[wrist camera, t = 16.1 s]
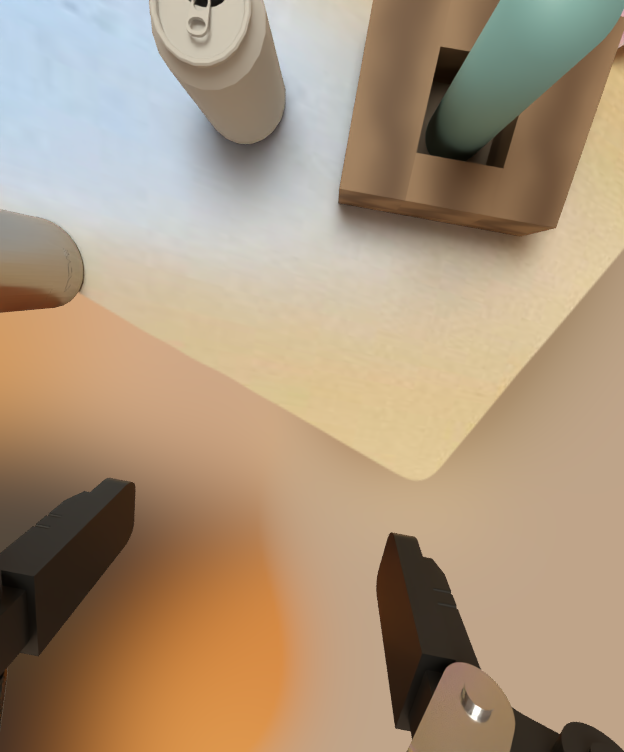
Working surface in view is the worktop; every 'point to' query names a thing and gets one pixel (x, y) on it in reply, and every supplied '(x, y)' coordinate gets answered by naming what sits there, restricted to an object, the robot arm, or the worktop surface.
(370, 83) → the well block
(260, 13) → the can
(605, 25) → the peg
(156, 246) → the worktop surface
